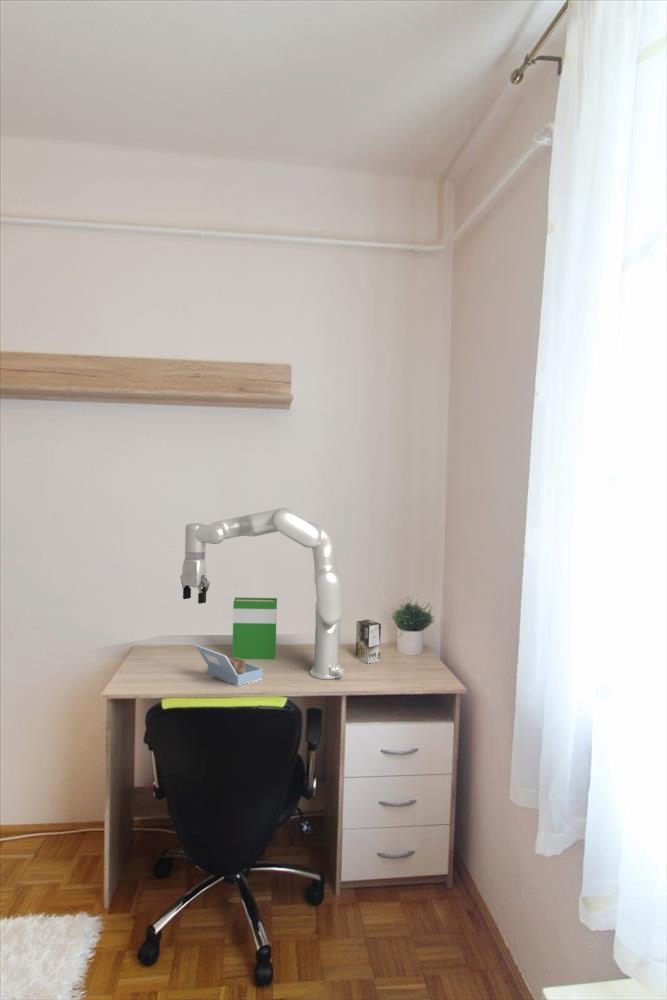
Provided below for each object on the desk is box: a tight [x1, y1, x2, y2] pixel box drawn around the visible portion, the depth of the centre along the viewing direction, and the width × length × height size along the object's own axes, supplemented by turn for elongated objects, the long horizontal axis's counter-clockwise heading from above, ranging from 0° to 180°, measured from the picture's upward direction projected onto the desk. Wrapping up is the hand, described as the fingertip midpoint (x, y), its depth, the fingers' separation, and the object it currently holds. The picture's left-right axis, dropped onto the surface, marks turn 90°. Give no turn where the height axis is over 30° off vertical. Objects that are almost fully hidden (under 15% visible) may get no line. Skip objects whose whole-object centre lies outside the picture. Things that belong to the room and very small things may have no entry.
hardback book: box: [231, 597, 278, 660], centre depth 279 cm, size 18×7×24 cm, turn 94°
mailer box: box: [207, 657, 264, 687], centre depth 253 cm, size 18×12×4 cm, turn 47°
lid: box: [195, 644, 238, 676], centre depth 246 cm, size 18×10×1 cm
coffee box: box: [355, 619, 382, 665], centre depth 278 cm, size 9×6×16 cm
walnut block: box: [228, 657, 246, 675], centre depth 253 cm, size 5×5×6 cm
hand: (194, 600), depth 253 cm, fingers open, 9 cm apart
